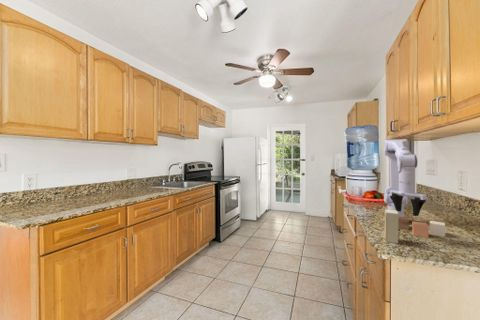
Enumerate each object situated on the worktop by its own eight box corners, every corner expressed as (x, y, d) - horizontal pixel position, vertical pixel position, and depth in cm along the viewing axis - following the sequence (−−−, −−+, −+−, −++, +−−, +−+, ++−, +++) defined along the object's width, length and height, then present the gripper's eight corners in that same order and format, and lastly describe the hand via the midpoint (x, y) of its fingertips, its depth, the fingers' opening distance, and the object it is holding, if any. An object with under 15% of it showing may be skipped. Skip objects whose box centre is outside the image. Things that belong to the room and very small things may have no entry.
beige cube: (430, 231, 100) (430, 220, 100) (444, 233, 97) (444, 222, 97) (429, 234, 96) (429, 223, 96) (445, 236, 93) (445, 225, 93)
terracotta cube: (412, 232, 99) (412, 221, 99) (426, 234, 96) (426, 223, 96) (413, 235, 95) (413, 224, 95) (428, 238, 92) (428, 226, 92)
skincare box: (384, 237, 93) (384, 208, 93) (397, 239, 91) (396, 210, 91) (385, 242, 88) (385, 212, 87) (398, 244, 85) (398, 213, 85)
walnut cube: (393, 225, 109) (393, 215, 109) (405, 226, 107) (405, 216, 107) (396, 228, 104) (396, 218, 104) (408, 229, 102) (408, 219, 102)
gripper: (384, 180, 100) (384, 210, 100) (417, 184, 86) (417, 218, 86) (396, 180, 102) (396, 209, 102) (430, 184, 88) (430, 217, 88)
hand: (406, 213), depth 94 cm, fingers open, 7 cm apart
